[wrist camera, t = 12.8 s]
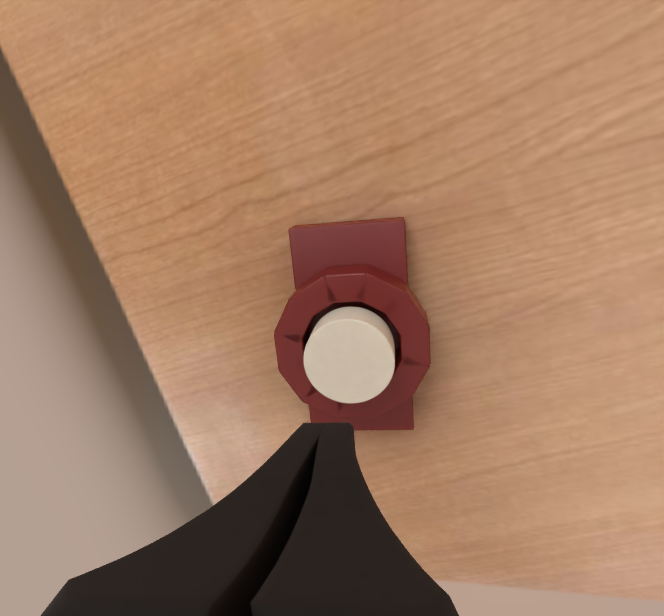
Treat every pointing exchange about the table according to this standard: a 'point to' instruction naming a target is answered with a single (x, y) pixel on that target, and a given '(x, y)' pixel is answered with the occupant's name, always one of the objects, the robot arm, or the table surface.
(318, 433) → the robot arm
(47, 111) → the table surface
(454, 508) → the table surface
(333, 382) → the button
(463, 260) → the table surface
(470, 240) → the table surface
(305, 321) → the block
